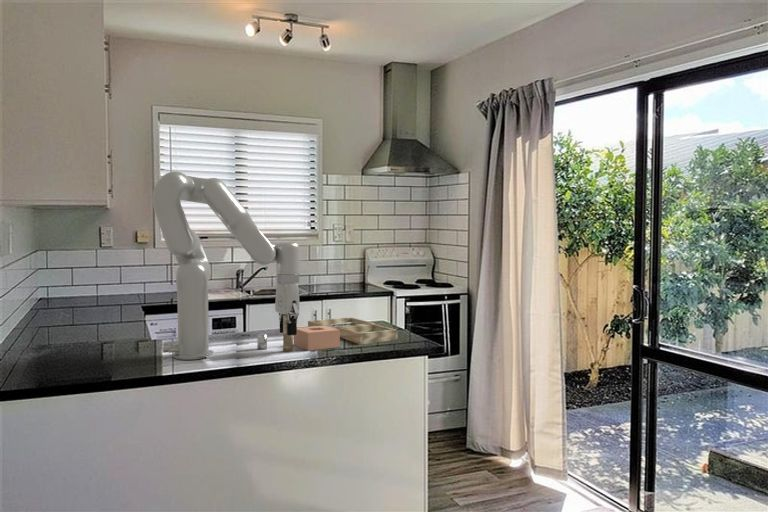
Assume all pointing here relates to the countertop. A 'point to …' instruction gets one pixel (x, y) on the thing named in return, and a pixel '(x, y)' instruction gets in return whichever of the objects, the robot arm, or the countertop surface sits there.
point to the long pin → (287, 336)
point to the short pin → (261, 341)
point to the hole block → (317, 337)
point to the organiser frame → (359, 330)
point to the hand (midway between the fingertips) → (288, 333)
